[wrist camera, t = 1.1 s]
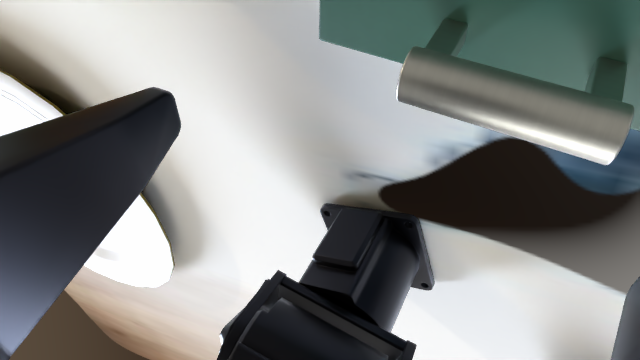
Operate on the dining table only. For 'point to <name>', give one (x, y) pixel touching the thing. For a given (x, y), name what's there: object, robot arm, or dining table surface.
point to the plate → (133, 227)
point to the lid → (509, 64)
